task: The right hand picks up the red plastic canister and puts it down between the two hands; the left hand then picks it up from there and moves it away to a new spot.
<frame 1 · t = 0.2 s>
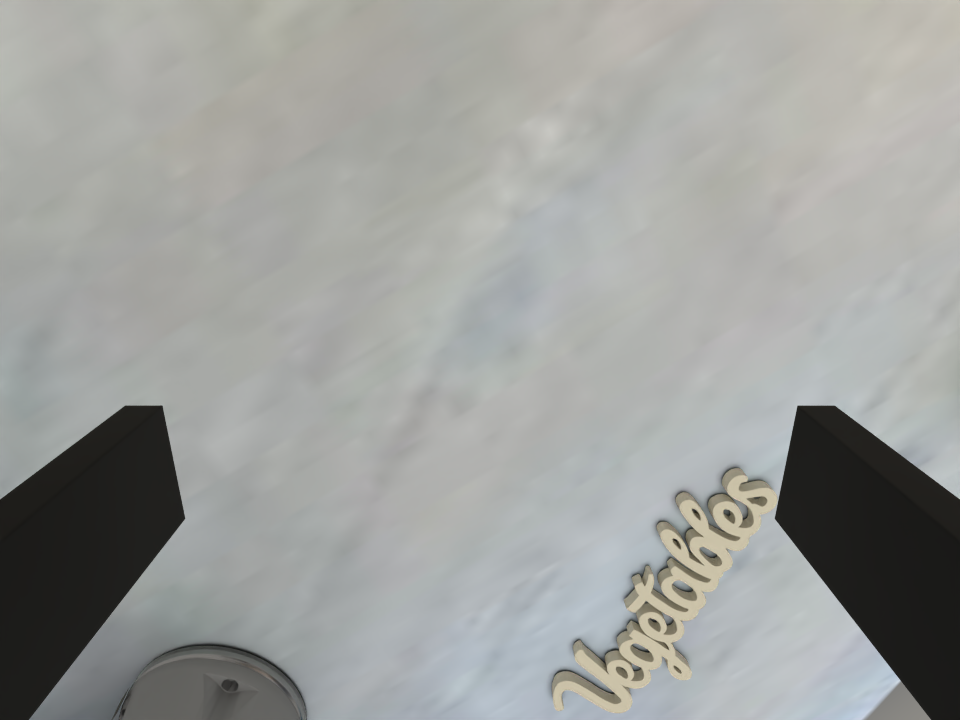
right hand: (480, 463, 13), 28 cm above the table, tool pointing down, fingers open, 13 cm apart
decorative sign: (666, 602, 49), on the table
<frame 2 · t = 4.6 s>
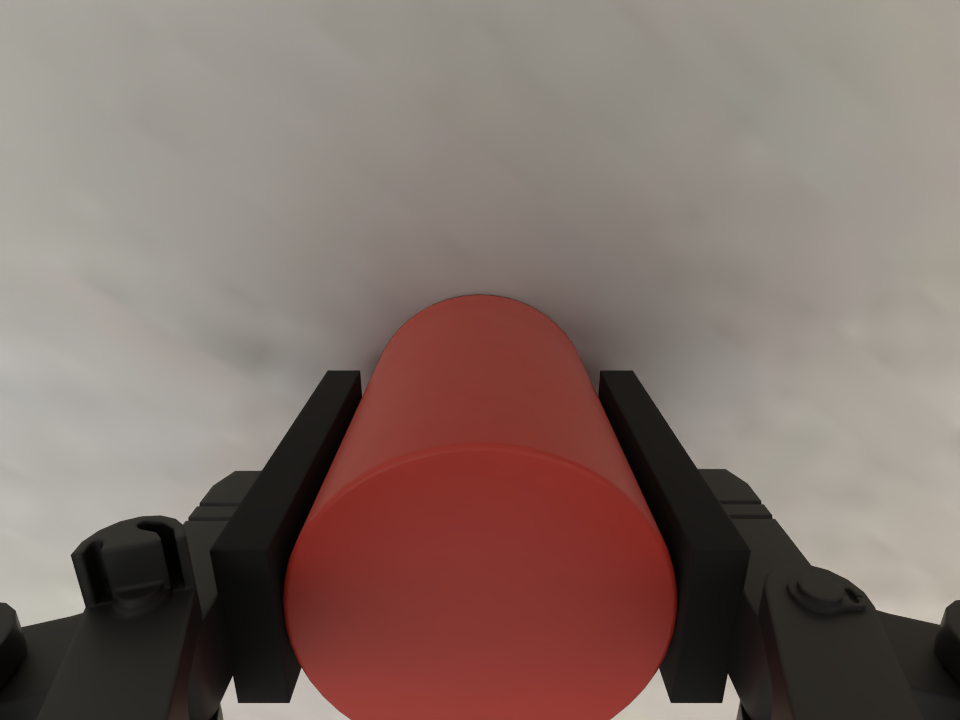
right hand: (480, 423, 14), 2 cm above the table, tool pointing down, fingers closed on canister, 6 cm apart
canister: (480, 397, 16), on the table, touching right hand
when the right hand's fingers open (3 cm above the table, at t = 14.4 s): canister drops 2 cm, on the table.
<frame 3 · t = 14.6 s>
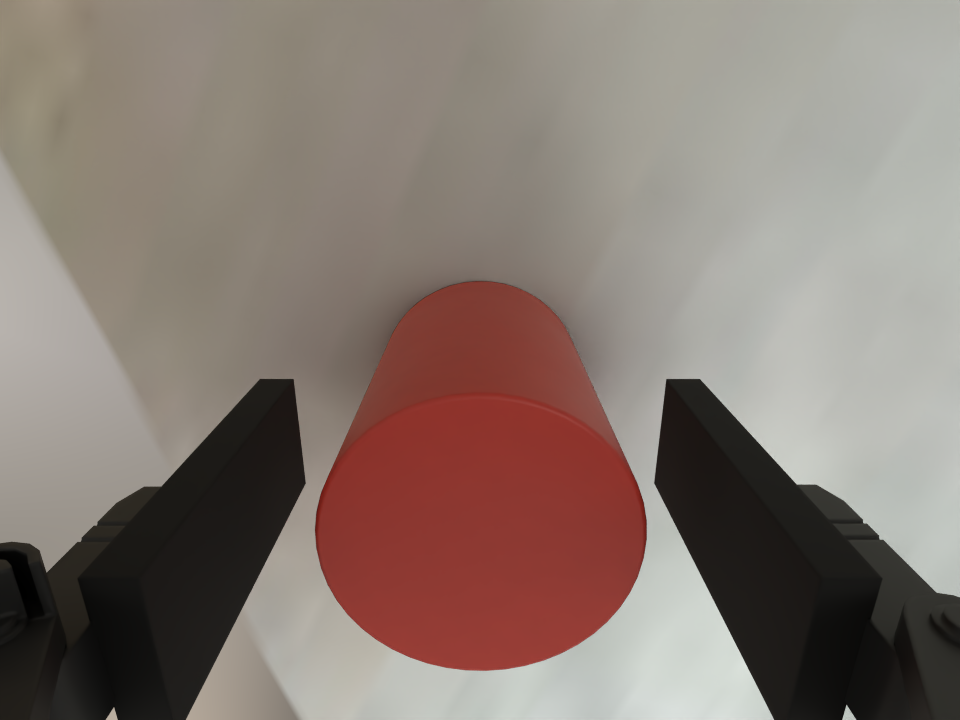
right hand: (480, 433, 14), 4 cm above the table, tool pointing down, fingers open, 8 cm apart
canister: (480, 375, 17), on the table
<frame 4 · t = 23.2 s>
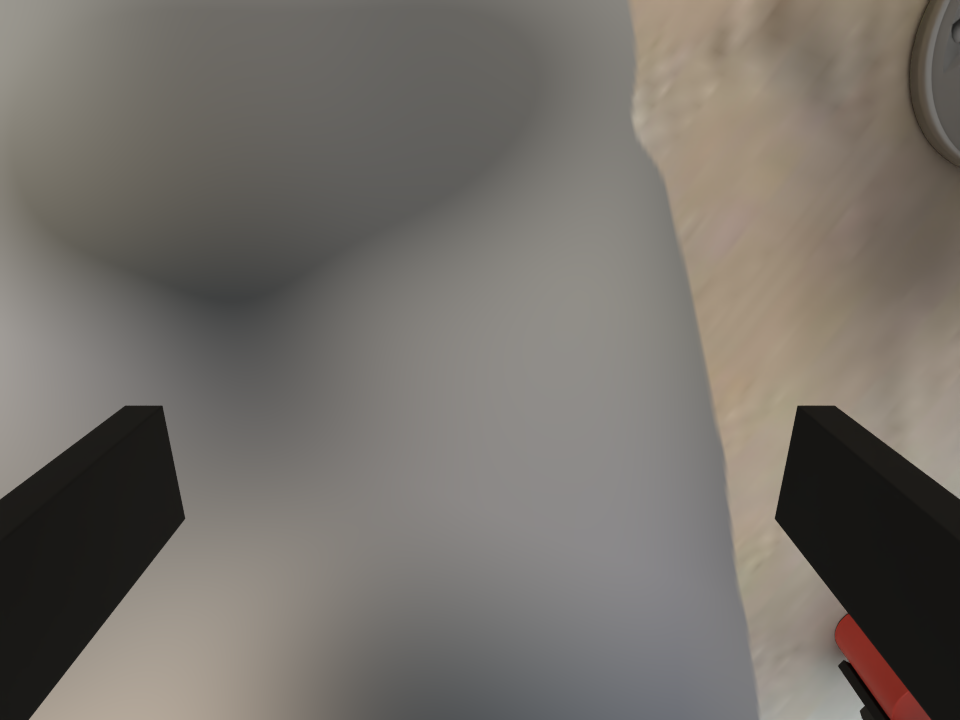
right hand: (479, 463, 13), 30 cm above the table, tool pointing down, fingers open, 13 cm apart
canister: (867, 630, 52), on the table, touching left hand
when the left hand's fingers open (3 cm above the table, at t = 32.9 s): canister drops 2 cm, on the table.
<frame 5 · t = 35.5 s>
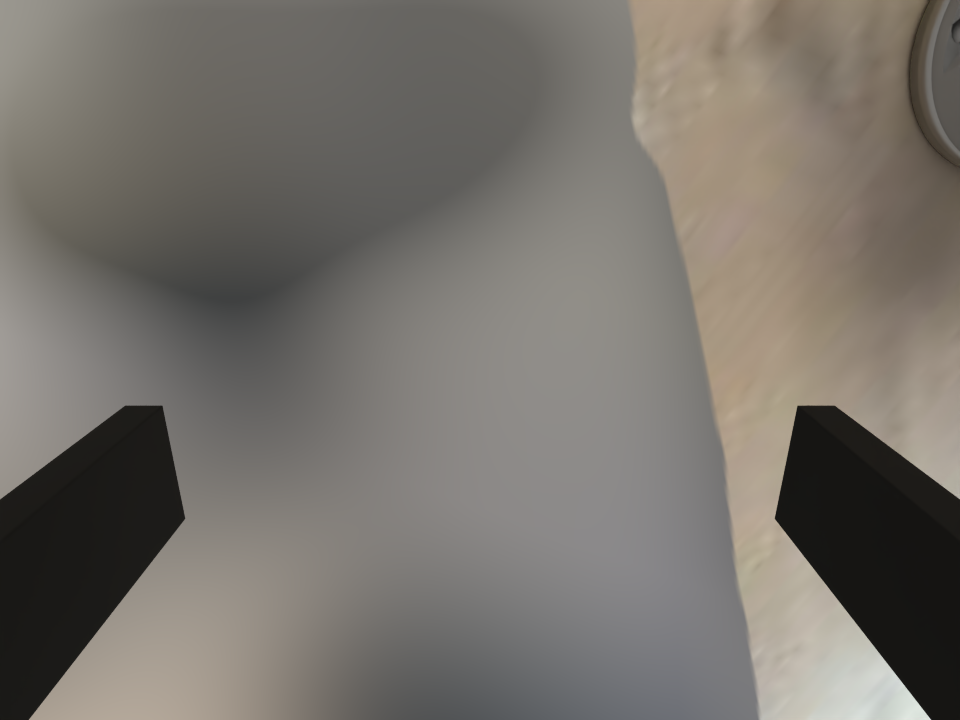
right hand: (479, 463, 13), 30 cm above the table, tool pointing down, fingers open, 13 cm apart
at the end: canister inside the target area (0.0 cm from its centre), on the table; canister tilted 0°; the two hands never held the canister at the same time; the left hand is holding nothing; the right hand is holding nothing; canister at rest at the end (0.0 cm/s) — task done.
